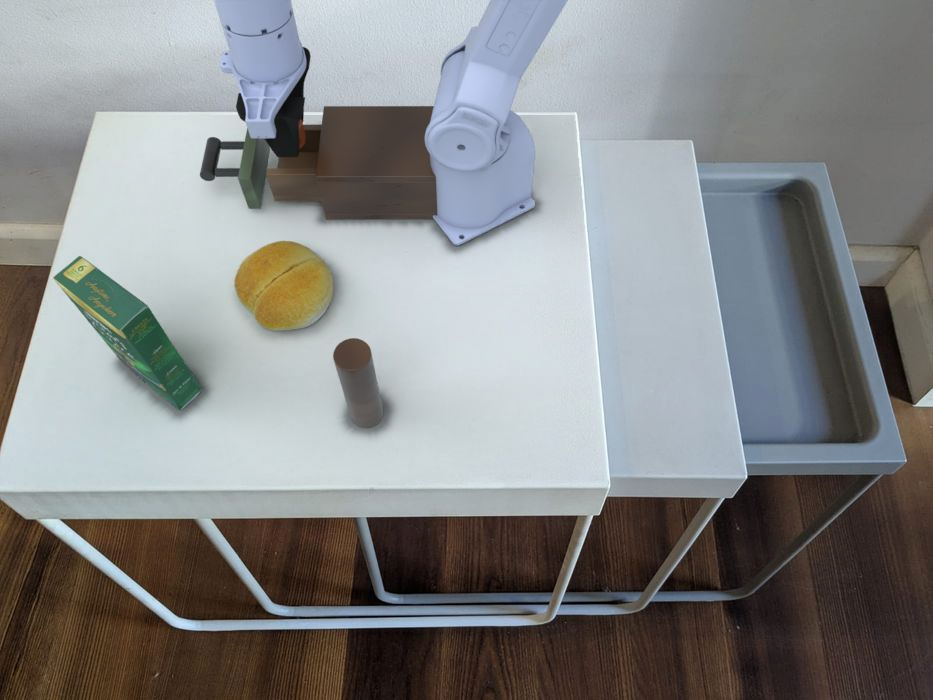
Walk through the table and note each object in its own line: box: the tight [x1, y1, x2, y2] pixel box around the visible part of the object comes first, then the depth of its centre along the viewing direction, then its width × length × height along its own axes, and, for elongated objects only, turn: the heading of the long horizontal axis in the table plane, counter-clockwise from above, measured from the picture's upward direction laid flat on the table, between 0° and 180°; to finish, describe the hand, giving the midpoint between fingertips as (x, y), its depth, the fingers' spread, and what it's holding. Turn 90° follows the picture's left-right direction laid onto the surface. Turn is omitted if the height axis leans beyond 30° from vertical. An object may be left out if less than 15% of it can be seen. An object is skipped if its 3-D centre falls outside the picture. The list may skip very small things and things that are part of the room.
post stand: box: [332, 337, 384, 429], centre depth 61 cm, size 3×3×10 cm
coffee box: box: [52, 255, 203, 411], centre depth 61 cm, size 8×3×13 cm, turn 52°
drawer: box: [199, 124, 322, 210], centre depth 75 cm, size 15×8×4 cm, turn 90°
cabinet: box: [316, 105, 437, 220], centre depth 75 cm, size 12×9×6 cm
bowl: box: [299, 119, 306, 149], centre depth 72 cm, size 3×3×2 cm
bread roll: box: [234, 240, 335, 332], centre depth 70 cm, size 8×9×4 cm
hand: (289, 139), depth 73 cm, fingers closed on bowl, 3 cm apart
